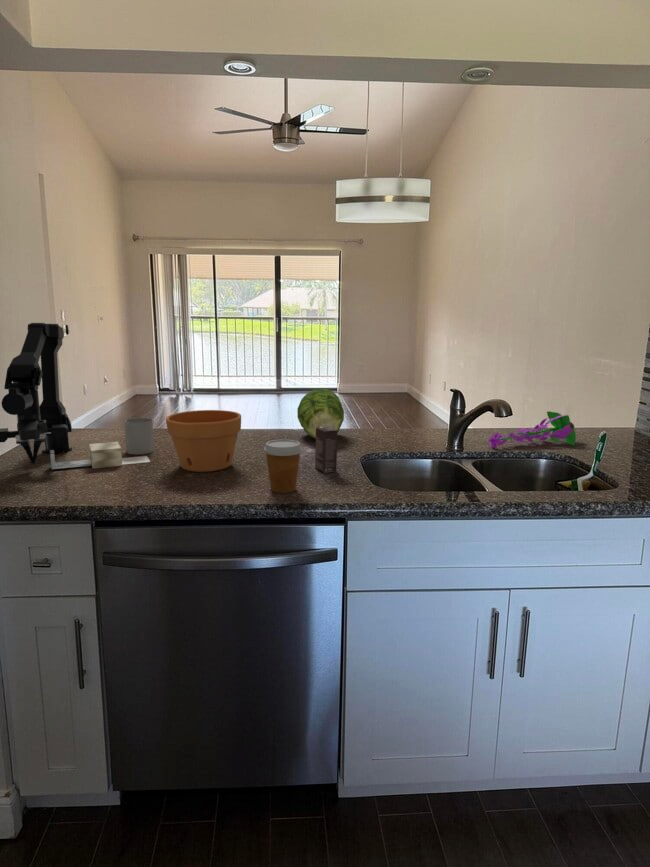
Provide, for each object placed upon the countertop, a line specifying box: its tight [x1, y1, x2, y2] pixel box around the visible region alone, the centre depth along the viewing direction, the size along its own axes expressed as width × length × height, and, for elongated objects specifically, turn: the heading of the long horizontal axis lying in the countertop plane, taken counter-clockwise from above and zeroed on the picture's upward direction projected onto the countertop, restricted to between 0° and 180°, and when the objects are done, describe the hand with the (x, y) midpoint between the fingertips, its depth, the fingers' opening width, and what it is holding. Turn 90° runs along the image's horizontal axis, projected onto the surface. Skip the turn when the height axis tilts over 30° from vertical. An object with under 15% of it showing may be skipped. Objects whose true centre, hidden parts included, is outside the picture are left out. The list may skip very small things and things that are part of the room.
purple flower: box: [488, 410, 577, 449], centre depth 199 cm, size 12×16×35 cm
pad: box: [122, 455, 151, 466], centre depth 174 cm, size 8×7×1 cm
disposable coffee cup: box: [263, 439, 303, 494], centre depth 147 cm, size 10×10×12 cm
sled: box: [49, 450, 92, 470], centre depth 168 cm, size 18×5×4 cm, turn 115°
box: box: [314, 427, 339, 474], centre depth 165 cm, size 6×4×12 cm
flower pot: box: [165, 409, 242, 473], centre depth 168 cm, size 21×21×15 cm
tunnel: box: [88, 441, 123, 469], centre depth 170 cm, size 8×9×5 cm
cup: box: [124, 417, 155, 455], centre depth 184 cm, size 8×8×10 cm
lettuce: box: [296, 388, 345, 440], centre depth 204 cm, size 17×23×16 cm
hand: (33, 463), depth 162 cm, fingers closed
